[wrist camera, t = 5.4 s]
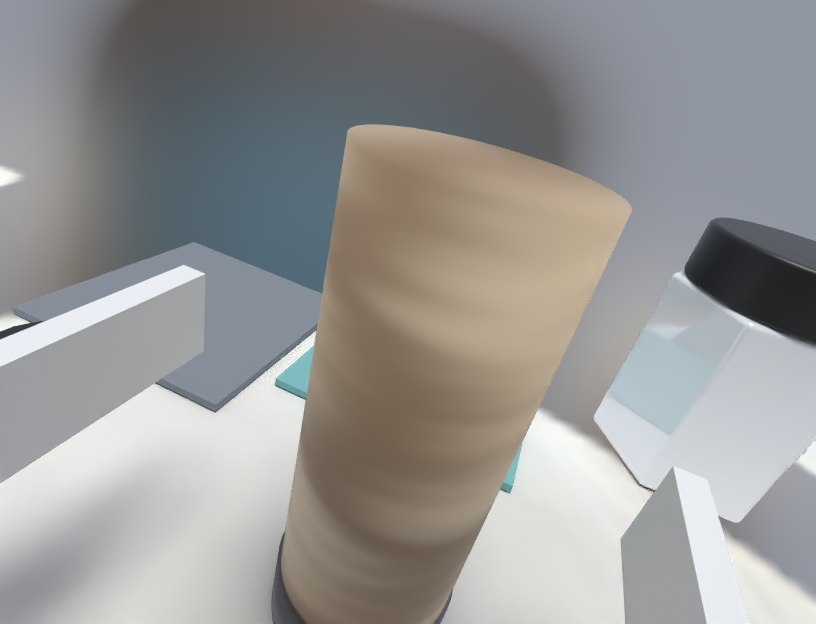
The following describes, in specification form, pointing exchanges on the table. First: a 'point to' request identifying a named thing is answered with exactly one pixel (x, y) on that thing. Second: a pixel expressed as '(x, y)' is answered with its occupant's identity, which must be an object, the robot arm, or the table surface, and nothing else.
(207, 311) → the slate seat
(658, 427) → the jar
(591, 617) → the table surface
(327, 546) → the banded sleeve
